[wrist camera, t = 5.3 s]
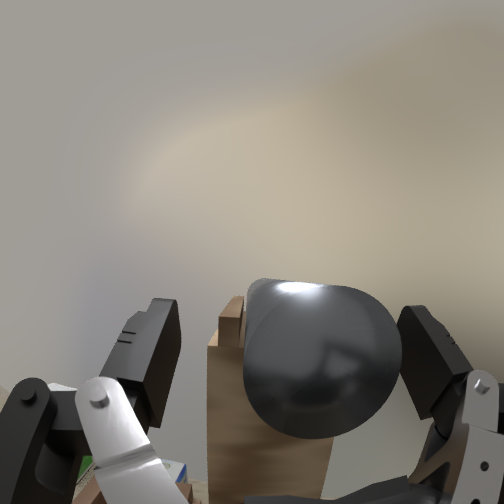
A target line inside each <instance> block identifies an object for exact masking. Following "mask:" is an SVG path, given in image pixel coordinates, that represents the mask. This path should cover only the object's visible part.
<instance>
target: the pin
mask: <svg viewBox="0 0 504 504" xmlns="http://www.w3.org/2000/svg"><path fill="white" fill-rule="evenodd" d="M401 361H402V344H401V338H400V334H399V331H398V328H397V325H396V323H395V321H394V319H393V317H392V316H391V315H390V313H389V312H388V310H387V309H386V308H385V307H384V306H383V305H382V304H381V303H380V302H379V301H378V300H376V299H375V298H374V297H372V296H370V295H369V294H367V293H365V292H363V291H360V290H358V289H355V288H351V287H346V286H336V285H325V284H315V283H304V282H295V281H285V280H275V279H266V278H265V279H259V280H256V281H255V282H254V283H252V284H251V286H250V287H249V289H248V292H247V306H246V322H245V340H244V358H243V382H244V387H245V391H246V394H247V397H248V400H249V402H250V404H251V406H252V408H253V409H254V410H255V412H256V413H257V415H258V416H259V417H260V418H261V419H262V420H263V421H264V422H265V423H267V424H268V425H269V426H271V427H272V428H273V429H275V430H277V431H279V432H281V433H283V434H286V435H288V436H292V437H296V438H301V439H325V438H330V437H334V436H338V435H341V434H343V433H346V432H349V431H351V430H353V429H355V428H357V427H358V426H360V425H361V424H363V423H364V422H366V421H367V420H368V419H369V418H371V417H372V416H373V415H374V414H375V413H376V412H377V411H378V410H379V409H380V408H381V407H382V405H383V404H384V403H385V402H386V400H387V399H388V397H389V396H390V394H391V392H392V390H393V388H394V386H395V384H396V382H397V379H398V376H399V372H400V368H401Z"/></svg>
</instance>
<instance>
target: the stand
mask: <svg viewBox="0 0 504 504" xmlns="http://www.w3.org/2000/svg"><path fill="white" fill-rule="evenodd" d="M243 306H244V297H243V296H234V297H233V298H232V299H231V301H230V302H229V303H228V305H227V306H226V307H225V309H224V310H223V312H222V313H221V314H220V316H219V324H218V329H217V331H216V332H215V334H214V336H213V337H212V339H211V341H210V343H209V344H208V350H207V351H208V352H207V461H208V493H209V504H239V503H244V496H282V495H291V496H298V497H305V498H313V499H320V496H321V493H322V489H323V485H324V481H325V477H326V472H327V468H328V464H329V459H330V454H331V450H332V444H333V440H334V437H330V438H325V439H301V438H296V437H292V436H288V435H286V434H283V433H281V432H279V431H277V430H275V429H273V428H272V427H271V426H269V425H268V424H267V423H265V422H264V421H263V420H262V419H261V418H260V417H259V416H258V415H257V413H256V412H255V410H254V409H253V408H252V406H251V404H250V402H249V400H248V397H247V394H246V391H245V387H244V382H243V358H244V340H245V322H246V312H244V311H243Z"/></svg>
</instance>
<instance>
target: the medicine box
mask: <svg viewBox="0 0 504 504" xmlns="http://www.w3.org/2000/svg"><path fill="white" fill-rule="evenodd" d="M160 460H161V462H162V464H163V465H164V467H165V469H166V470H167V472H168V473H169V475H170V476H171V478H172V480H173V481H174V483H176V482H179V483H186V484H188V481H187V470H186V465H185V464H183V463H178V462H174V461H169V460H164V459H160Z"/></svg>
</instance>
